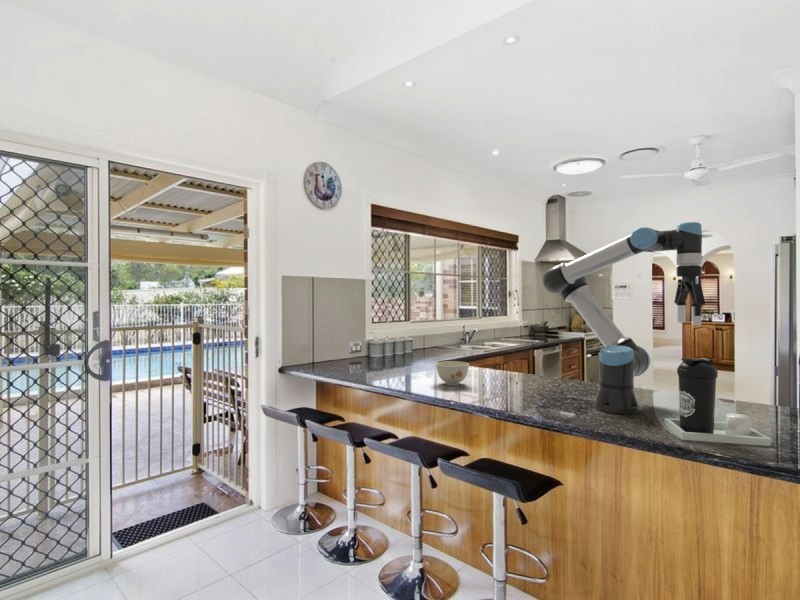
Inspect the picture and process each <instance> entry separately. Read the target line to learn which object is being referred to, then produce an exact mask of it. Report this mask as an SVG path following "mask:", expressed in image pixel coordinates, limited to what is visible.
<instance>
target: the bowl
mask: <svg viewBox="0 0 800 600" xmlns="http://www.w3.org/2000/svg"><path fill="white" fill-rule="evenodd" d="M469 366H470V364H469V362H465V361H459V360H458V361H456V360H455V361H454V360H445V361H439V362H436V363H435V367H436V372H437V374H438V377H439V378H440V379H441V381H442V382H444V383H445V385H446V386H450V387H451V386H452V387H455V386H459V385H460V383H461V382H463V381H464V380H465V379H466V377H467V375H468V371H469V368H470V367H469Z"/></svg>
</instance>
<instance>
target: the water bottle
mask: <svg viewBox="0 0 800 600" xmlns="http://www.w3.org/2000/svg"><path fill="white" fill-rule="evenodd" d="M681 361H683V362H682V363H680V364H679V365H678V366H677V368H676V373H677V376H678V405H679V409H678V410H679V419H680V428H681V429H682V430H684V431H685V432H694V433H709V434H714V421H715V410H716V388H717V387H716V386H717V378H718V376H719V375H718V373H719V372H718V370H717V368H716V367H715V366H714V363H715V362H714V360H713V359H711V358H705V357H699V358H698V359H695V358H689V357H682V358H681Z"/></svg>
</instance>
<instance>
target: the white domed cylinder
mask: <svg viewBox="0 0 800 600" xmlns="http://www.w3.org/2000/svg"><path fill="white" fill-rule="evenodd" d="M725 422H726V435H738V436H751V428H752V417H751V416H749V415H746V414H741V413H726V414H725Z"/></svg>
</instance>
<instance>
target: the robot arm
mask: <svg viewBox="0 0 800 600" xmlns="http://www.w3.org/2000/svg"><path fill="white" fill-rule="evenodd" d="M702 245H703V231H702V224H701V223H700V222H699V221H698V222H696V221H691V222H690V221H689V222H688V221H687V222H681V223H678V224H677V225H676V229H672V230H671V229H670V230H657V229H653V228H651V227H637V228H636V229H634V231H632V233H631V234H629V235H626V236H624V237H623V238H620V239H618V240H616V241H614V242H612V243H609V244H608V245H604V246H603V247H600V248H599V249H596V250H593V251H592V252H589V253H587V254H585V255H583V256H580V257H578V258H576V259H574V260H572V261H570V262H561V263H560V264H557V265H555V266H552V267H550V268H549V269H547V270H546V271H545V273H544V275H543V276H542V283H543V287H544V288H545V290H547V291H548V292H549V293H551V294H556V295H560V296H561V298H562V300H564V301H565V303H570V304H572V306H573V307H574V309H575V310H576V311H577V313H578V314H579V315H580V316H581V318H582V319H583V320H584V321H585V323H586V325H588V327H589V328H590V329H591V331H592V332H593V333H594V335H595V336H596V337H597V338H598V340H599V342H600V343H601V344H602V345H603V346H604V347H602V348H601V349H600V350H599V355H598V363H599V364H598V366H599V367H598V368H599V370H598V371H599V374H598V375H599V377H598V378H599V382H598V383H599V385H598V390H597V393H596V396H595V398H594V403H593V405H594V408H595V409H596V410H599V411H601V412H606V413H611V414H615V415H616V414H617V415H634V414H637V413H639V412H640V407H639V406H640V405H639V401H638V399H637V396H636V393H635V390H634V387H635V386H634V383H635V382H634V381H635V379H634V378H635V377H639V376H642V375H643V374H644V373H645V372H647V370H648V369H649V367H650V365H651V357H650V355H649V353H648V351H647V350H646V349H645V348H643V347H641V346H640V345H639V346H638V345H637V344H636V343H635V341H634V340H633V339H632V337H627V336H625V335H624V334H623V333H622V332H621V330H620V329H619V328H618V326H617V325H616V324H615V323H614V322H613V320H612V319H611V317H610V316H609V315H608V313H606V311H605V310H604V309H603V307H601V305H600V304H599V302H598V301H597V300H596V299H595V298H594V297H593V295H592V294H591V293H590V292H589V289H590V285H588V283H587V282H586V281H587V280H586V279H587V278H586V276H589V275H591V274H593V273H595V272H597V271H600V270H603V269H605V268H608V267H610V266H612V265H614V264H616V263H619V262H622V261H623V260H626V259H628V258H631V257H633V256H635V255H638V254H641V253H654V252H664V251H667V252H668V251H676V266H677V267H676V277H678V278H679V277H681V279H680V278H679V279H677V286H676V292H675V297H674V304H675V305H676V323H684V324H685V323H687V322H686V319H687V317H686V315H687V314H686V313H687V302H686V301H687V298H688V296H689V298H690V300H691V303H692V304H691V305H690V307H691V326H702V311H703V310H702V307H703V306H704V305H706V302H705V297H704V290H703V286H702V278H699V277H701V276H702V274H703V273H702V271H703V269H702V259H703V258H704V256H703V255H702V253H703V252H702V251H703V249H702V248H703V247H702Z"/></svg>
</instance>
